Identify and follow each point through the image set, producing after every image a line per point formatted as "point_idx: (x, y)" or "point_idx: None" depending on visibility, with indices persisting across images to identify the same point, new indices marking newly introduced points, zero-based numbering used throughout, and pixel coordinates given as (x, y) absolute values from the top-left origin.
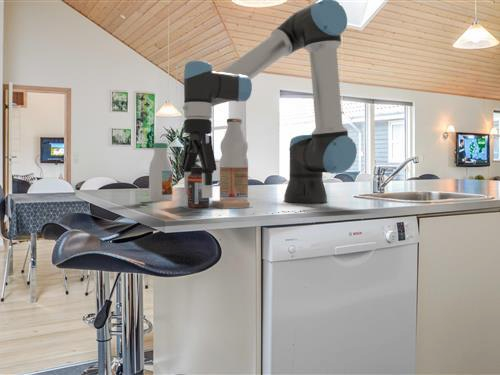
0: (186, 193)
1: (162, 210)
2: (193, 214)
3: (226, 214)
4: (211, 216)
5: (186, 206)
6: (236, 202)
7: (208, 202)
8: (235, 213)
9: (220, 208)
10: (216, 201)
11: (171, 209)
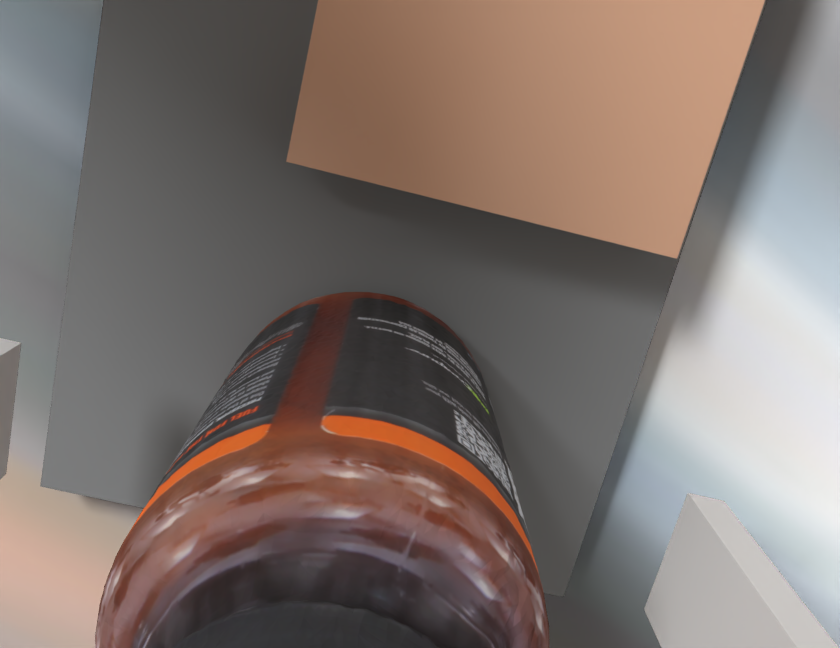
0: (1, 462)
1: (76, 632)
2: (577, 586)
3: (810, 338)
4: (822, 548)
5: (171, 448)
6: (723, 38)
7: (471, 359)
8: (816, 198)
9: (618, 267)
10: (412, 177)
11: (30, 517)
